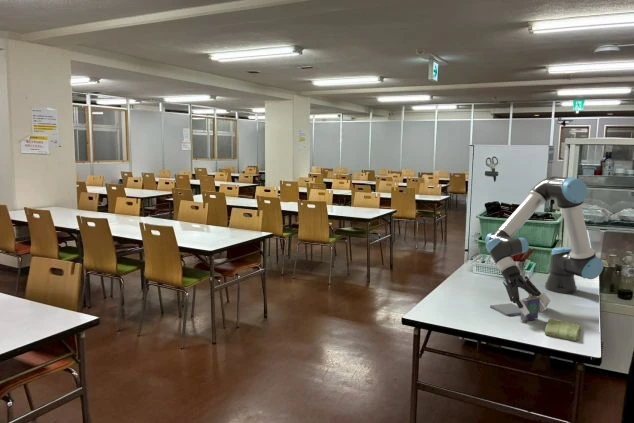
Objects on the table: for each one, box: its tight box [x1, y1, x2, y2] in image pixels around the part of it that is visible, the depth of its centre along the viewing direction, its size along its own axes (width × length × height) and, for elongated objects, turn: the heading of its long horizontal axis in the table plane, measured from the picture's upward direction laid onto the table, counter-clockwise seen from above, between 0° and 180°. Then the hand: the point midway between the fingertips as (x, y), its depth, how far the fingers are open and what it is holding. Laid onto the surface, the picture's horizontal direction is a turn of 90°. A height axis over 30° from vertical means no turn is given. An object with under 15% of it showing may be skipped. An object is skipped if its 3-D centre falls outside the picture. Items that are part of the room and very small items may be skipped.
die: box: [539, 291, 551, 309], centre depth 222 cm, size 8×9×10 cm
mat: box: [489, 302, 521, 317], centre depth 219 cm, size 12×12×1 cm
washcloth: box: [544, 318, 582, 342], centre depth 194 cm, size 13×18×3 cm
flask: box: [520, 293, 540, 322], centre depth 206 cm, size 10×3×12 cm, turn 117°
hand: (535, 312), depth 203 cm, fingers closed on flask, 10 cm apart
